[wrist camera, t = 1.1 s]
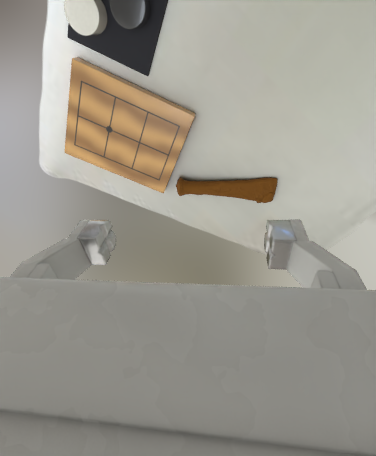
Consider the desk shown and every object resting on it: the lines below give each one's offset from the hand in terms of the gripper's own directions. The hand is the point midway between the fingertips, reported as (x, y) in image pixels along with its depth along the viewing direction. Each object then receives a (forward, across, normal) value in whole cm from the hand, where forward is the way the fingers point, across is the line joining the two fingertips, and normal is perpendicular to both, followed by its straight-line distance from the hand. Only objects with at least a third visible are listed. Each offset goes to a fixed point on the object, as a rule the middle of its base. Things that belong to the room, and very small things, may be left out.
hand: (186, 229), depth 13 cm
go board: (+34, +15, +5) cm, 38 cm away
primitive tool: (+34, -3, +16) cm, 38 cm away
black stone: (+34, +10, -11) cm, 37 cm away
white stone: (+34, +16, -11) cm, 39 cm away
